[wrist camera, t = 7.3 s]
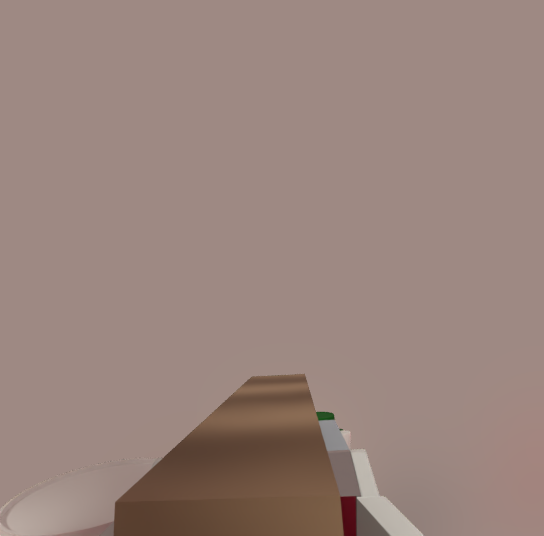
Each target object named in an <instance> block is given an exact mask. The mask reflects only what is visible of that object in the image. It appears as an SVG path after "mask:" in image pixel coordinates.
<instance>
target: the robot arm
mask: <svg viewBox="0 0 544 536" xmlns="http://www.w3.org/2000/svg"><path fill="white" fill-rule="evenodd" d="M327 452H328V456H329V459H330V462H331V466H332V469H333V473H334V476H335V480H336V483H337V486H338V490H339V493H340V500H341V511H342V522H343V533H344V536H424V535H423V534H422V533H421V532H420V531H419V530H418V529H417V528H416V527H415V526H414V525H413V524H412V523H411V522H410V521H409V520H408V519H407V518H406V517H405V516H404V515H403V514H402V513H401V512H400V511H399V510H398V509H397V508H396V507H395V506H394V505H393V504H392V503H391V502H390V501H389V500H388V499H387V498H386V497H385V496H380V495H379V492H378V489H377V486H376V482H375V479H374V475H373V472H372V469H371V466H370V462H369V459H368V456H367V453H366V451H365V449H355V450H334V451H327ZM162 459H163V458H157V459H156V460H155V462H154V463H153V465H152V468H153V467H154V466H155V465H156V464H157V463H158V462H159V461H160V460H162ZM152 468H151V469H152ZM99 536H114V522H113V523H112V524H111V525H110V526H109V527H108V528H107V529H105V530H104V531H103V532H102V533H101V534H100V535H99Z"/></svg>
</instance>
